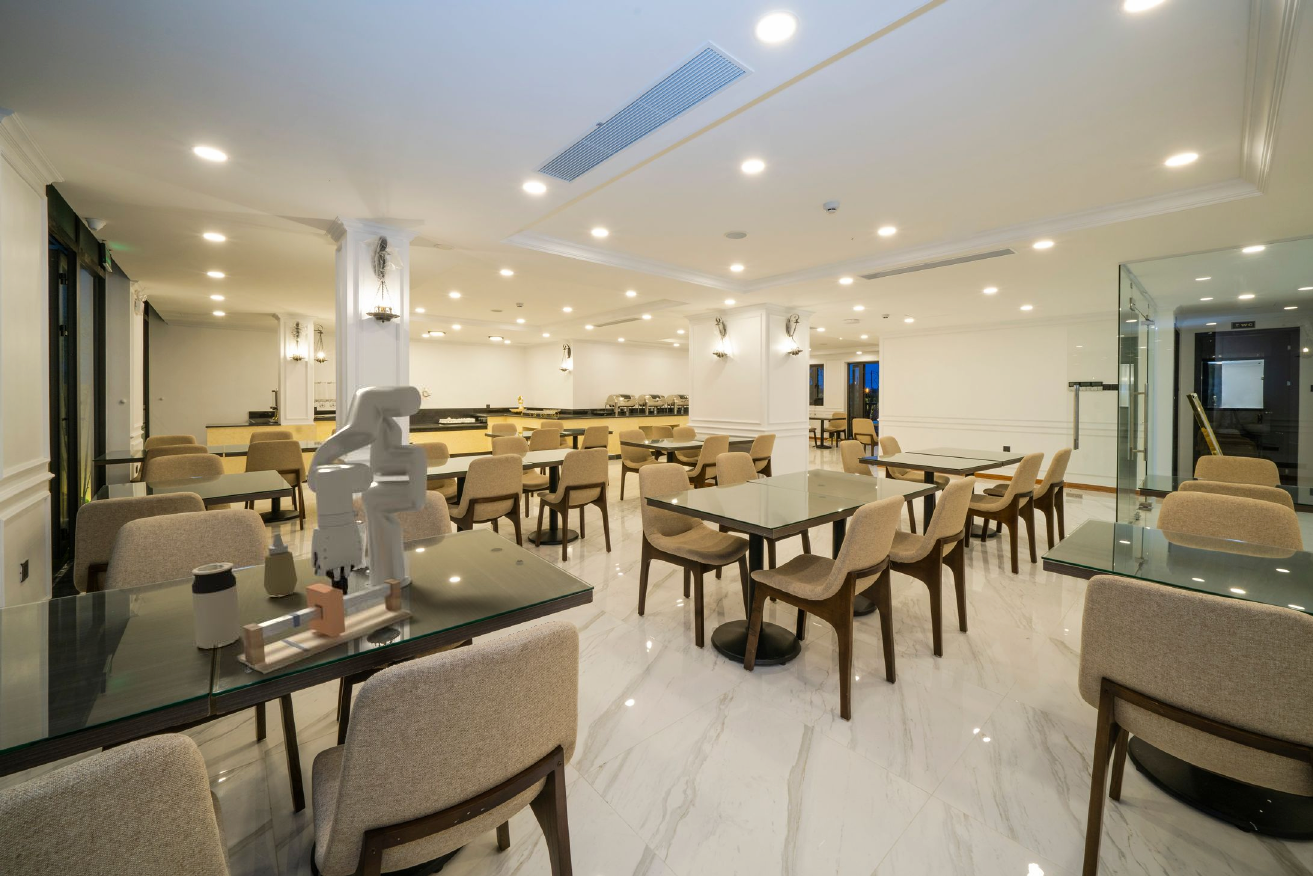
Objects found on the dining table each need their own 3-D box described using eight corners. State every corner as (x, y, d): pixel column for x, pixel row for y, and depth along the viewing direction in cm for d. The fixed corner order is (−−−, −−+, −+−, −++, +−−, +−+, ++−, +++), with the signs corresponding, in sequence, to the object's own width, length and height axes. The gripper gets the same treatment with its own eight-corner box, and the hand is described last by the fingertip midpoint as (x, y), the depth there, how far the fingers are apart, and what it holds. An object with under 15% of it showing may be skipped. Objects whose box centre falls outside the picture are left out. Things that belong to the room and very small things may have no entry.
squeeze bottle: (257, 597, 156) (253, 535, 155) (286, 588, 164) (281, 529, 162) (276, 601, 153) (272, 538, 152) (304, 591, 161) (300, 531, 159)
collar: (308, 627, 131) (306, 587, 130) (321, 623, 134) (319, 583, 133) (332, 636, 126) (329, 594, 125) (345, 632, 128) (342, 590, 128)
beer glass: (344, 572, 178) (341, 527, 177) (344, 566, 184) (342, 522, 183) (368, 569, 181) (365, 524, 180) (368, 563, 187) (365, 520, 186)
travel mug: (205, 653, 123) (198, 575, 121) (191, 645, 127) (184, 569, 125) (246, 639, 129) (240, 565, 128) (231, 632, 134) (226, 560, 132)
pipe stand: (237, 660, 119) (234, 622, 119) (383, 607, 148) (382, 576, 148) (264, 674, 113) (261, 634, 112) (411, 615, 142) (410, 584, 142)
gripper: (357, 512, 139) (361, 582, 140) (293, 524, 126) (299, 602, 128) (375, 515, 135) (379, 587, 137) (311, 528, 122) (316, 608, 124)
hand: (340, 594), depth 132 cm, fingers closed
